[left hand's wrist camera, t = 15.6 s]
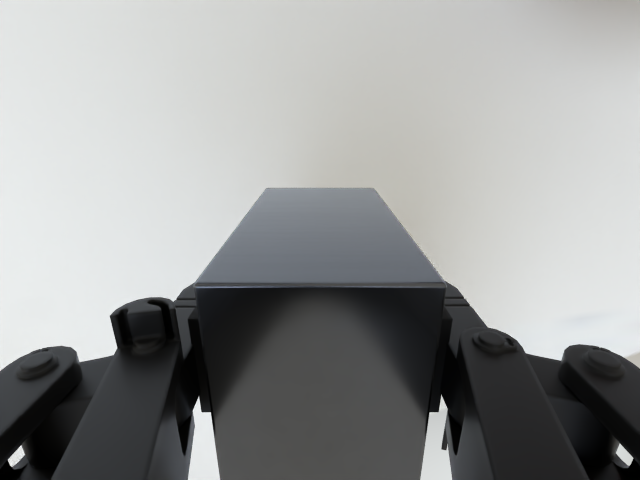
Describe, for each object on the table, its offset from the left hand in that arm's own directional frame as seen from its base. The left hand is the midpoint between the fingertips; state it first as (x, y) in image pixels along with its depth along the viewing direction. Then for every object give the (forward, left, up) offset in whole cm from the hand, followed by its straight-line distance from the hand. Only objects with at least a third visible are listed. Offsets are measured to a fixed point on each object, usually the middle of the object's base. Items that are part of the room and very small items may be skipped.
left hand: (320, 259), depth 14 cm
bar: (+9, +5, -1) cm, 11 cm away
